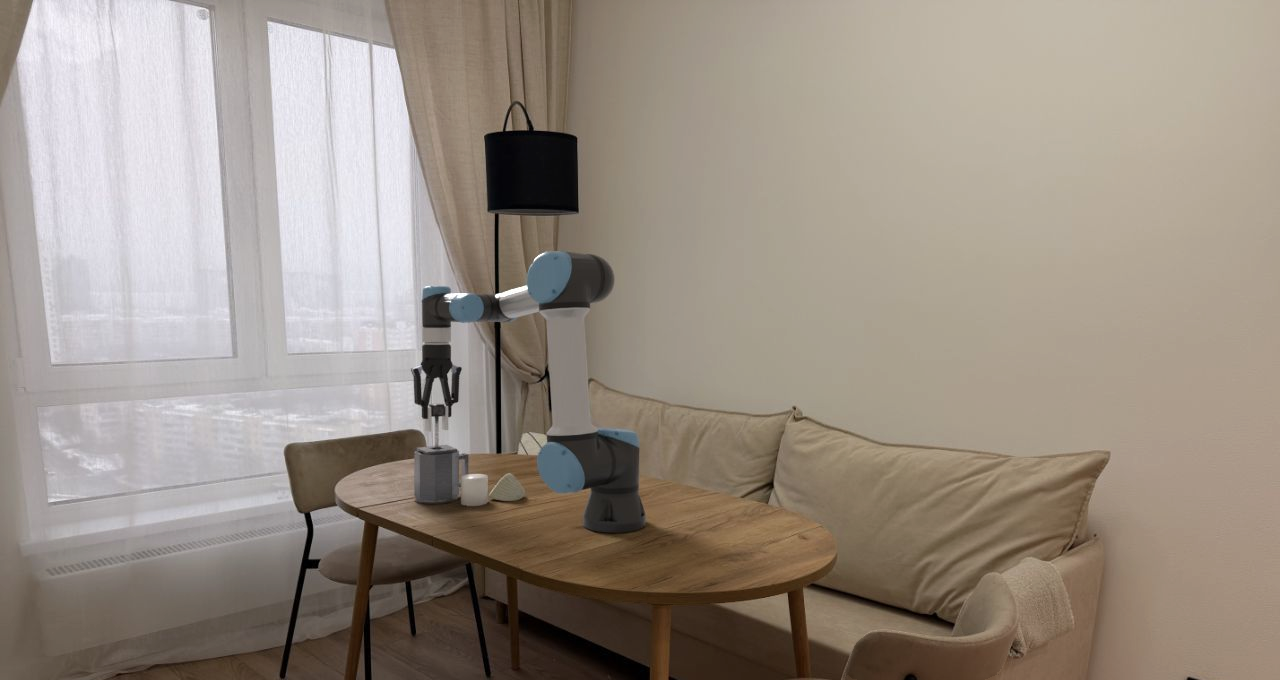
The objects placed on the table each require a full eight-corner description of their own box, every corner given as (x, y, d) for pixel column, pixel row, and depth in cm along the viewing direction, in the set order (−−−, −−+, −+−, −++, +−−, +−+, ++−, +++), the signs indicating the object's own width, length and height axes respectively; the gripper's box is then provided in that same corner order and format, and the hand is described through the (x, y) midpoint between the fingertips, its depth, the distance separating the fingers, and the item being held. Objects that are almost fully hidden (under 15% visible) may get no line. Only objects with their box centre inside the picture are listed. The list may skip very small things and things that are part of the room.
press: (474, 499, 208) (474, 448, 207) (423, 506, 200) (423, 453, 199) (459, 490, 217) (459, 442, 216) (409, 497, 209) (409, 447, 208)
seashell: (533, 491, 208) (511, 480, 203) (514, 515, 208) (492, 504, 204) (523, 474, 214) (502, 463, 210) (504, 498, 215) (483, 487, 210)
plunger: (455, 475, 206) (455, 405, 205) (427, 478, 202) (427, 406, 201) (445, 470, 212) (445, 402, 212) (418, 473, 208) (418, 403, 207)
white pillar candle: (491, 503, 203) (491, 477, 203) (466, 507, 199) (466, 480, 199) (481, 498, 209) (481, 472, 209) (456, 501, 205) (456, 475, 205)
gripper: (461, 342, 214) (461, 425, 215) (400, 343, 204) (400, 430, 205) (472, 343, 208) (472, 429, 208) (409, 344, 198) (409, 434, 199)
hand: (436, 429), depth 207 cm, fingers closed on plunger, 4 cm apart
